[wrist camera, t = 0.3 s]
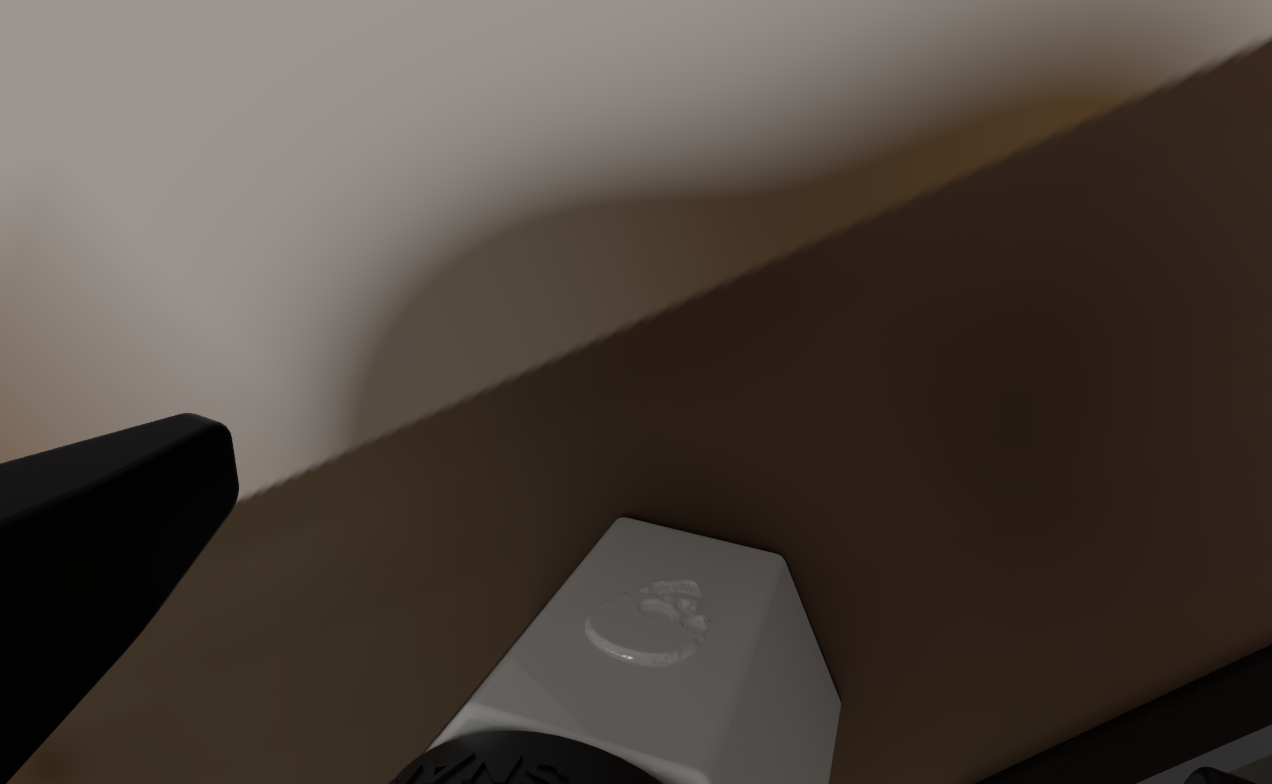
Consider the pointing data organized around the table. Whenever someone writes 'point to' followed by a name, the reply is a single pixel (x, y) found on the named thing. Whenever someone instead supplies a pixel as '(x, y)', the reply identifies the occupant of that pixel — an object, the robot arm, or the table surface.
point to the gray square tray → (1171, 736)
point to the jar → (651, 676)
